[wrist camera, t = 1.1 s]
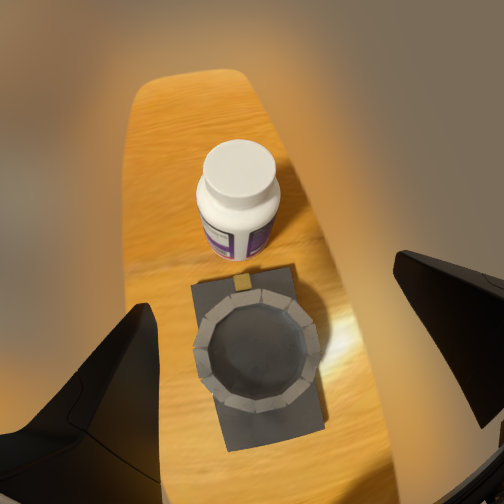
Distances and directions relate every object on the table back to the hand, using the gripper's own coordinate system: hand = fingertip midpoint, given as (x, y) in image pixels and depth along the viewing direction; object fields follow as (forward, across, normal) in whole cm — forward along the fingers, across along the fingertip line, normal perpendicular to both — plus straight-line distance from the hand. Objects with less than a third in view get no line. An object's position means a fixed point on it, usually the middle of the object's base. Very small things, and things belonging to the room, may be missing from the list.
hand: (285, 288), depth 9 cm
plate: (+7, 0, +12) cm, 14 cm away
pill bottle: (+15, 0, +4) cm, 15 cm away
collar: (+7, 0, +10) cm, 12 cm away
